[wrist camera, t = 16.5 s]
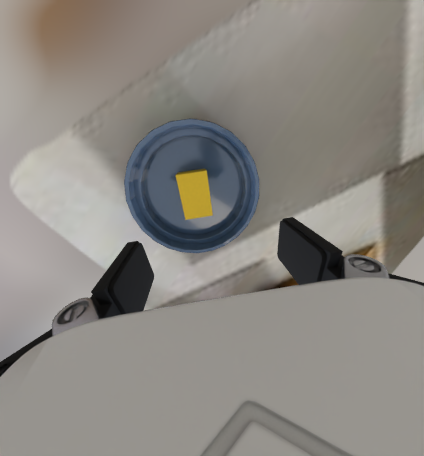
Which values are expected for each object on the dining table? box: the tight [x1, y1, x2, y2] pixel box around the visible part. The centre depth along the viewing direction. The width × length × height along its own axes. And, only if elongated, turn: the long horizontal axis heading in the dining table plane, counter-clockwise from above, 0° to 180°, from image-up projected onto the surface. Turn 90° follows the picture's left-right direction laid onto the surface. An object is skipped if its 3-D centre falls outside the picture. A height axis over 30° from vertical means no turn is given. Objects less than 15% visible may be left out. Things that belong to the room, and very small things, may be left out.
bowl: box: [124, 119, 259, 253], centre depth 25 cm, size 19×19×4 cm
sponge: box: [176, 169, 213, 220], centre depth 25 cm, size 7×4×3 cm, turn 7°
